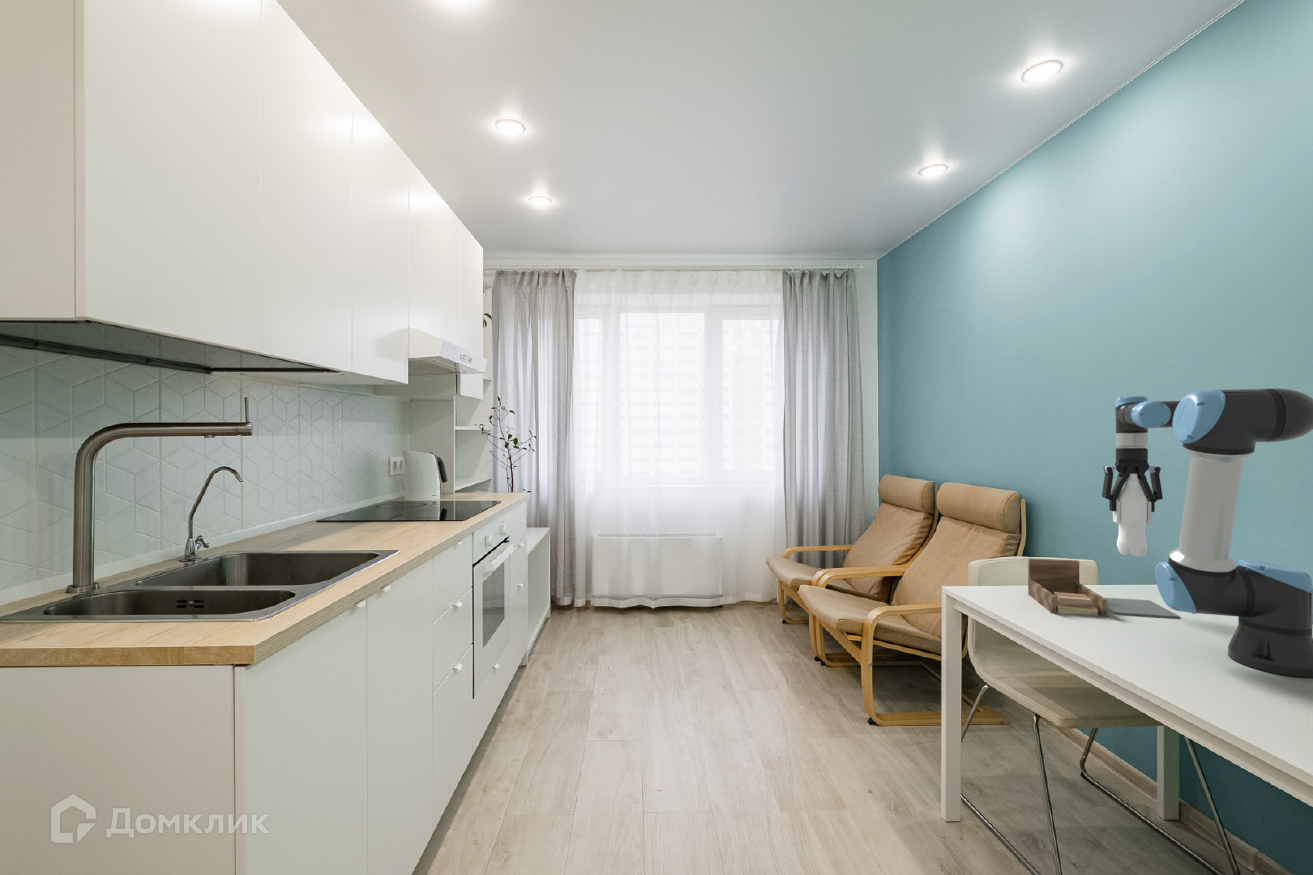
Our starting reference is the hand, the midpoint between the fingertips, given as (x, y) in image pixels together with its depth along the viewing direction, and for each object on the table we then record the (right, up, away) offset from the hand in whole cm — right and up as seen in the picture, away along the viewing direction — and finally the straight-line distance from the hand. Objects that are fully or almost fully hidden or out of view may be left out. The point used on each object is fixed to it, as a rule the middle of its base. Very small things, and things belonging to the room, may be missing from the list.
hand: (1131, 522), depth 172 cm
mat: (0, -26, 0) cm, 26 cm away
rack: (-17, -26, +4) cm, 32 cm away
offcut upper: (-19, -25, -1) cm, 31 cm away
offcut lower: (-19, -27, -1) cm, 33 cm away
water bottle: (0, -10, 0) cm, 10 cm away
